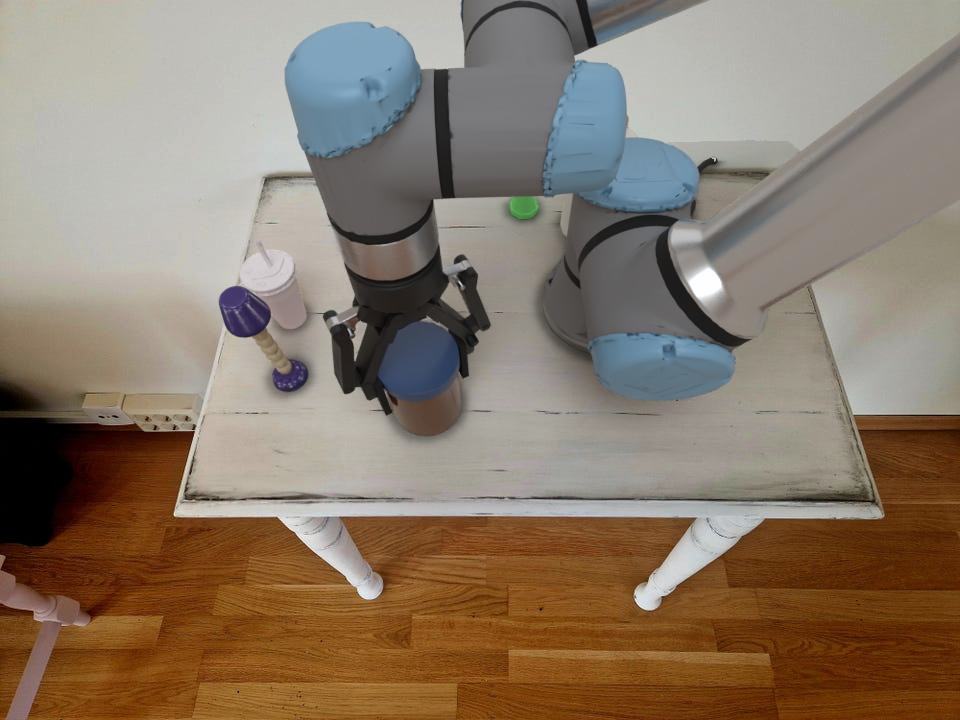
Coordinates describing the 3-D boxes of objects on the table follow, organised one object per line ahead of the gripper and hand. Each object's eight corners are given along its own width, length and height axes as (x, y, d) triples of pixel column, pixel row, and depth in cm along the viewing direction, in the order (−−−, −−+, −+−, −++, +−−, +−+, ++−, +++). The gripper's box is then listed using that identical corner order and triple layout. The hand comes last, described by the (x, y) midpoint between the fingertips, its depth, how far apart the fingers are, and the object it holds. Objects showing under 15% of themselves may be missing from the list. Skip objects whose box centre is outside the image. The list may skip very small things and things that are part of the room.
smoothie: (326, 318, 74) (293, 244, 62) (284, 346, 72) (242, 276, 60) (299, 289, 77) (262, 213, 65) (258, 316, 74) (212, 242, 62)
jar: (443, 365, 70) (435, 316, 61) (473, 417, 66) (469, 373, 57) (383, 393, 68) (365, 347, 59) (410, 448, 65) (397, 407, 56)
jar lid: (363, 349, 60) (360, 341, 59) (437, 317, 62) (436, 308, 61) (396, 416, 56) (393, 408, 55) (474, 379, 58) (473, 371, 57)
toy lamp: (297, 399, 68) (243, 319, 54) (262, 390, 69) (200, 309, 54) (313, 366, 70) (267, 280, 56) (279, 357, 71) (224, 271, 57)
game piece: (544, 213, 83) (547, 180, 78) (518, 223, 82) (519, 191, 77) (528, 194, 85) (531, 161, 80) (503, 204, 84) (504, 172, 79)
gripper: (489, 169, 48) (491, 322, 67) (240, 266, 43) (320, 401, 63) (535, 227, 44) (523, 371, 64) (270, 339, 40) (345, 458, 59)
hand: (423, 386), depth 63 cm, fingers closed on jar lid, 9 cm apart
